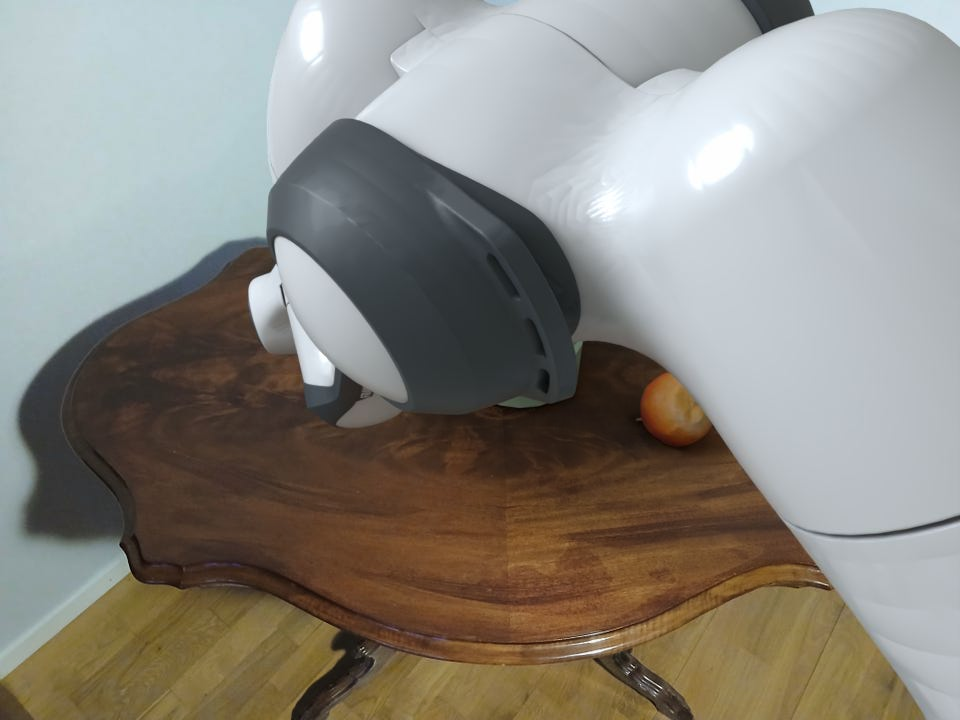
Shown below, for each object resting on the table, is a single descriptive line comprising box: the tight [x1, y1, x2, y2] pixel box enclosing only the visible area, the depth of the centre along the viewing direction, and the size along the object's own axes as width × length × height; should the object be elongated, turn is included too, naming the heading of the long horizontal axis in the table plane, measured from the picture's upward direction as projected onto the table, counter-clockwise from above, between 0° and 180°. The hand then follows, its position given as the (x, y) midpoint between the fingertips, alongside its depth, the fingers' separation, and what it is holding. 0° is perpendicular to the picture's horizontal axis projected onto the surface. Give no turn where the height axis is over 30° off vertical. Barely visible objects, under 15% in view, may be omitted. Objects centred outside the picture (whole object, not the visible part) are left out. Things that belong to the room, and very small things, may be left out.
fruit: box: [635, 371, 714, 448], centre depth 79 cm, size 8×8×8 cm
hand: (543, 260), depth 77 cm, fingers closed on muddler, 2 cm apart
